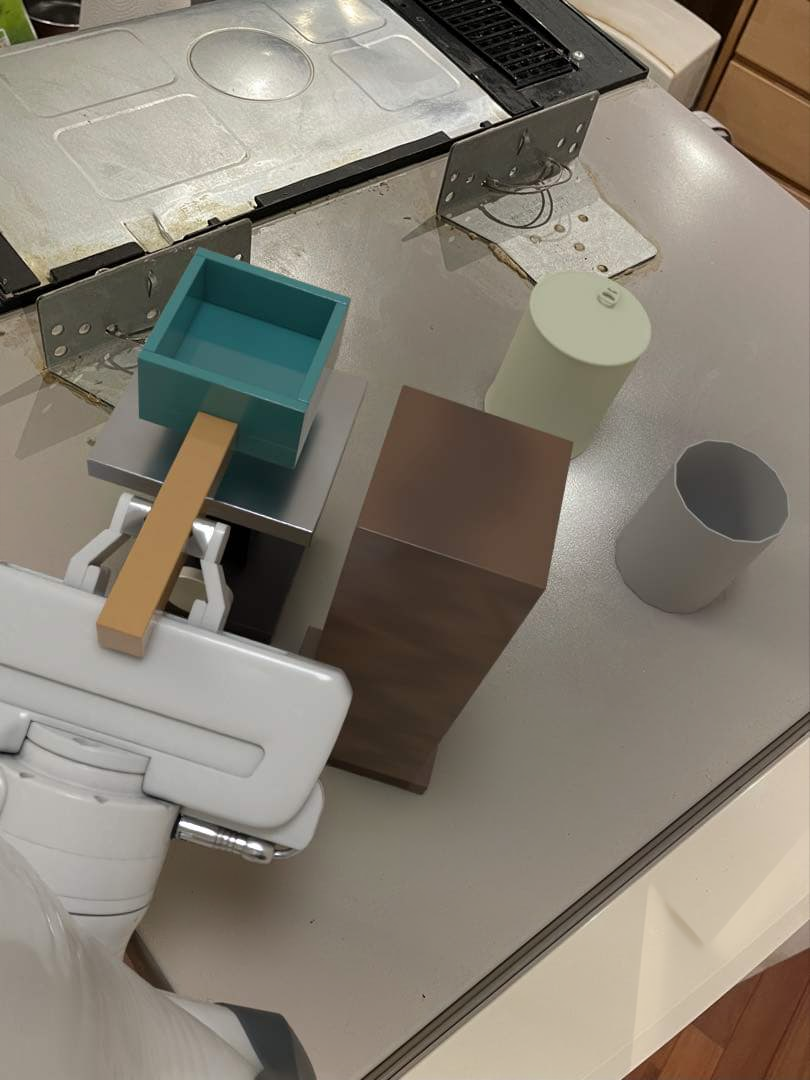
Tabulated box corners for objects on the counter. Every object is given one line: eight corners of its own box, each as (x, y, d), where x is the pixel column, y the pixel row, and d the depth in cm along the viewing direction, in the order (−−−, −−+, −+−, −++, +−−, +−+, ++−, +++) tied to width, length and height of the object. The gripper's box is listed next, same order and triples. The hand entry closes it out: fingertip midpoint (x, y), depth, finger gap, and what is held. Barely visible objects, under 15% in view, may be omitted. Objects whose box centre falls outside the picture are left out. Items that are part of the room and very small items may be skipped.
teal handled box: (29, 625, 42) (16, 572, 38) (195, 310, 53) (198, 246, 49) (210, 682, 42) (215, 636, 38) (337, 357, 53) (351, 297, 50)
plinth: (268, 746, 61) (331, 518, 39) (306, 635, 65) (381, 376, 43) (422, 795, 61) (570, 597, 39) (449, 681, 66) (595, 448, 44)
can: (611, 414, 81) (675, 311, 71) (560, 483, 76) (622, 382, 66) (518, 354, 83) (568, 245, 73) (462, 418, 78) (508, 310, 68)
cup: (593, 550, 74) (649, 473, 65) (660, 499, 78) (720, 421, 69) (675, 634, 71) (744, 565, 63) (740, 577, 75) (812, 505, 67)
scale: (100, 605, 63) (86, 458, 50) (164, 474, 69) (166, 312, 56) (279, 663, 64) (313, 533, 50) (327, 528, 70) (368, 380, 56)
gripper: (298, 898, 41) (401, 579, 42) (-185, 749, 40) (-69, 427, 41) (304, 858, 47) (394, 581, 48) (-113, 727, 46) (-14, 449, 47)
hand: (177, 508), depth 44 cm, fingers closed on teal handled box, 2 cm apart
